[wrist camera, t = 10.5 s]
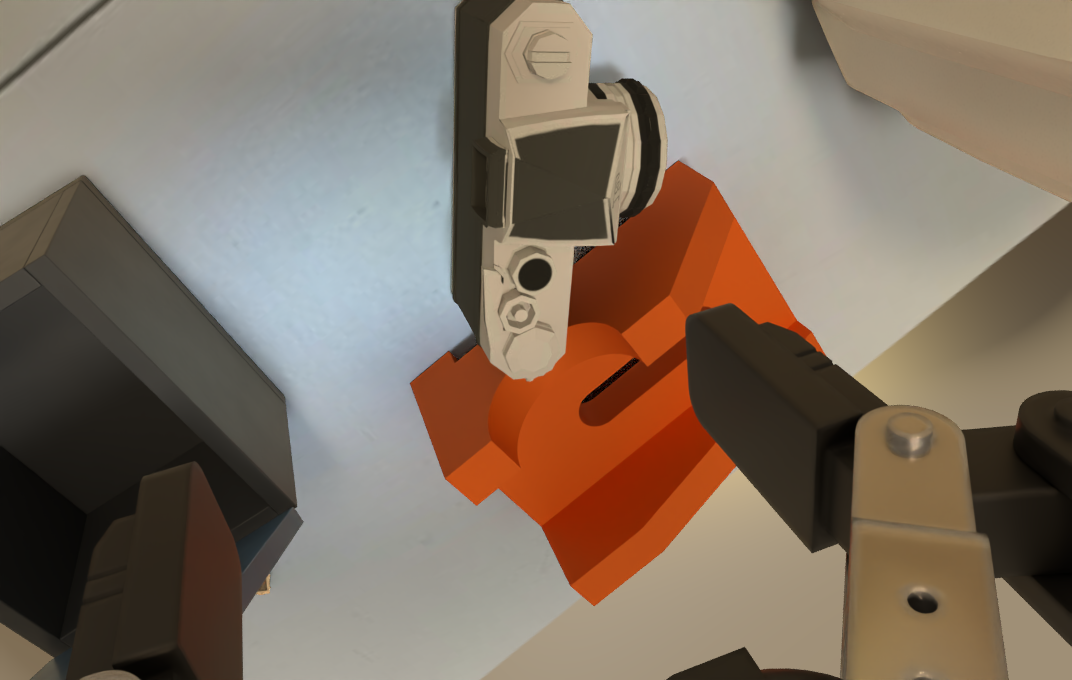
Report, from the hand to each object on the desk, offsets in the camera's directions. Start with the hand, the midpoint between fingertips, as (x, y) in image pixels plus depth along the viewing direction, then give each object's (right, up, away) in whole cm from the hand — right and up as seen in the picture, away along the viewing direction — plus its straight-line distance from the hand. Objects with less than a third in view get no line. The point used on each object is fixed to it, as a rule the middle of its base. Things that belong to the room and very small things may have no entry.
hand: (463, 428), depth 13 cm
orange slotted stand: (+5, +1, +33) cm, 33 cm away
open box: (-19, 0, +24) cm, 31 cm away
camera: (+1, +10, +26) cm, 28 cm away
